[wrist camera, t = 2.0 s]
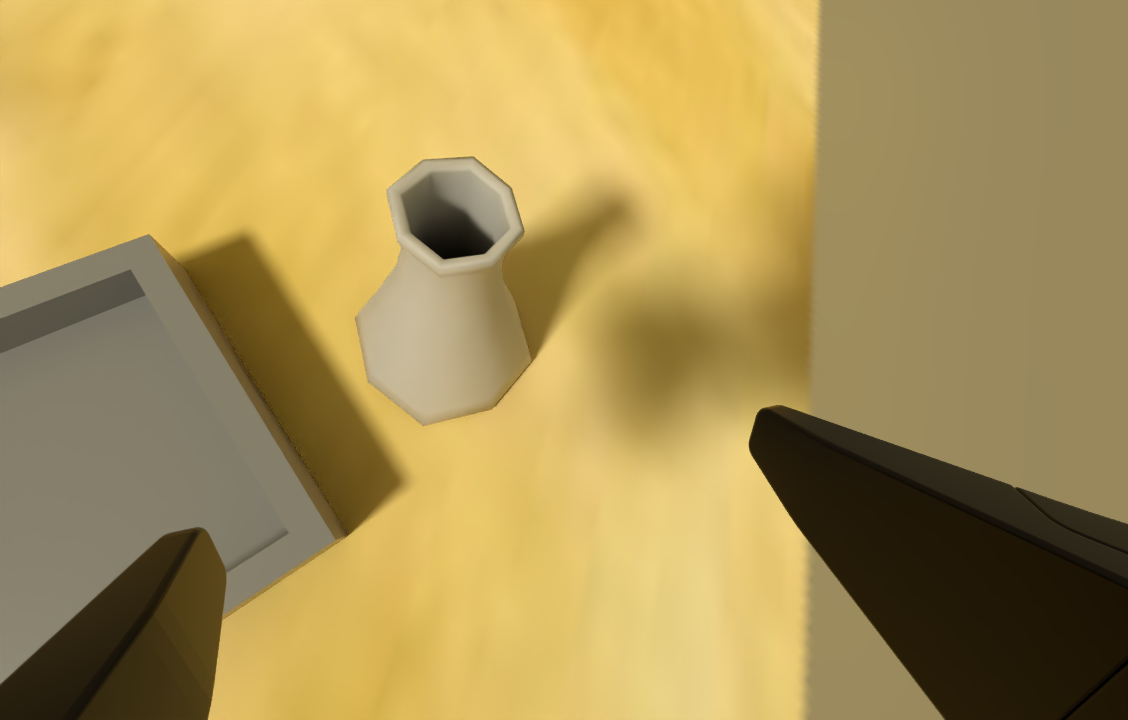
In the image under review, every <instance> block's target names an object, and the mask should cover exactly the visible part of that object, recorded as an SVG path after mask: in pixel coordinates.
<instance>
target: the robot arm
mask: <svg viewBox="0 0 1128 720" xmlns="http://www.w3.org/2000/svg"><path fill="white" fill-rule="evenodd" d="M749 450H750V453H751V455H752V457H753V458H754V460H755V461H756V463H757V465H758V466H759V468H760V469H761V471H762V473H763V474H764V476H765V477H766V479H767V480H768V482H769V484H770V485H771V487H772V488H773V490H774V492H775V493H776V495H777V496H778V498H779V499H780V501H781V503H782V504H783V506H784V507H785V509H786V511H787V512H788V514H789V515H790V517H791V518H792V520H793V521H794V523H795V524H796V525H797V527H798V528H799V529H800V531H801V532H802V534H803V535H804V536H805V538H806V539H807V540H808V541H809V543H810V544H811V545H812V547H813V548H814V549H815V551H816V552H817V553H818V554H819V556H820V557H821V558H822V560H823V561H824V562H825V564H826V565H827V566H828V568H829V569H830V570H831V572H832V573H833V574H834V575H835V577H836V578H837V579H838V581H839V582H840V583H841V585H842V586H843V587H844V589H845V590H846V591H847V592H848V594H849V595H850V596H851V597H852V599H853V600H854V602H855V603H856V604H857V606H858V607H859V608H860V609H861V611H862V612H863V613H864V615H865V616H866V617H867V619H868V620H869V621H870V623H871V624H872V625H873V626H874V628H875V629H876V630H877V632H878V633H879V634H880V636H881V637H882V638H883V640H884V641H885V642H886V644H887V645H888V646H889V647H890V649H891V650H892V651H893V652H894V654H895V655H896V657H897V658H898V659H899V660H900V662H901V663H902V664H903V666H904V667H905V668H906V670H907V671H908V672H909V674H910V675H911V676H912V678H913V679H914V680H915V681H916V683H917V684H918V685H919V686H920V688H921V689H922V691H923V692H924V693H925V694H926V696H927V697H928V698H929V700H930V701H931V702H932V704H933V705H934V706H935V708H936V709H937V710H938V712H939V713H940V714H941V715H942V717H943V718H944V719H945V720H1128V524H1126V523H1123V522H1120V521H1116V520H1114V519H1110V518H1107V517H1104V516H1101V515H1098V514H1095V513H1091V512H1088V511H1085V510H1082V509H1080V508H1077V507H1074V506H1071V505H1068V504H1065V503H1062V502H1059V501H1055V500H1053V499H1050V498H1047V497H1044V496H1041V495H1038V494H1035V493H1033V492H1030V491H1027V490H1024V489H1021V488H1018V487H1016V488H1014V487H1013V486H1011V485H1009V484H1006V483H1004V482H1001V481H998V480H995V479H992V478H989V477H986V476H983V475H980V474H977V473H975V472H972V471H969V470H966V469H963V468H960V467H958V466H955V465H952V464H949V463H946V462H943V461H940V460H937V459H934V458H931V457H929V456H926V455H923V454H920V453H917V452H914V451H912V450H909V449H906V448H903V447H900V446H897V445H894V444H891V443H888V442H886V441H883V440H880V439H877V438H874V437H871V436H869V435H866V434H863V433H859V432H857V431H854V430H851V429H848V428H846V427H842V426H840V425H837V424H834V423H831V422H828V421H825V420H822V419H820V418H817V417H814V416H811V415H808V414H805V413H802V412H800V411H797V410H794V409H791V408H788V407H785V406H782V405H775V406H771V407H766V408H762V409H760V410H759V412H758V413H757V415H756V418H755V422H754V425H753V429H752V432H751V436H750V439H749ZM226 584H227V575H226V569H225V566H224V563H223V561H222V559H221V557H220V555H219V553H218V551H217V549H216V547H215V545H214V543H213V541H212V539H211V537H210V535H209V533H208V532H207V531H206V530H205V529H204V528H202V527H194V528H190V529H185V530H180V531H175V532H171V533H168V534H165V535H163V536H162V537H161V538H159V539H158V540H157V541H156V542H155V543H154V544H153V545H151V546H150V547H149V548H148V549H147V550H146V551H145V552H144V553H143V554H142V555H141V556H139V557H138V558H137V559H136V560H135V561H134V562H133V563H132V564H131V565H130V566H129V567H127V568H126V569H125V570H124V571H123V572H122V573H121V574H120V575H119V576H118V577H116V578H115V579H114V580H113V581H112V582H111V583H110V584H109V585H108V586H107V587H106V588H104V589H103V590H102V591H101V592H100V593H99V594H98V595H97V596H96V597H95V598H94V599H92V600H91V601H90V602H89V603H88V604H87V605H86V606H85V607H84V608H83V609H82V610H80V611H79V612H78V613H77V614H76V615H75V616H74V617H73V618H72V619H71V620H70V621H68V622H67V623H66V624H65V625H64V626H63V627H62V628H61V629H60V630H59V631H58V632H56V633H55V634H54V635H53V636H52V637H51V638H50V639H49V640H48V641H47V642H46V643H44V644H43V645H42V646H41V647H40V648H39V649H38V650H37V651H36V652H35V653H34V654H32V655H31V656H30V657H29V658H28V659H27V660H26V661H25V662H24V663H23V664H22V665H20V666H19V667H18V668H17V669H16V670H15V671H14V672H13V673H12V674H11V675H10V676H8V677H7V678H6V679H5V680H4V681H3V682H2V683H1V684H0V720H208V716H209V711H210V706H211V702H212V695H213V688H214V681H215V673H216V665H217V657H218V649H219V641H220V633H221V625H222V617H223V609H224V601H225V593H226Z"/></svg>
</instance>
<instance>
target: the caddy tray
mask: <svg viewBox="0 0 1128 720" xmlns="http://www.w3.org/2000/svg"><path fill="white" fill-rule="evenodd" d="M194 527H202V528H204V529H205V530H206V531H207V532H208V533H209V535H210V537H211V539H212V541H213V543H214V545H215V547H216V549H217V551H218V553H219V555H220V557H221V559H222V561H223V563H224V566H225V569H226V575H227V584H226V593H225V601H224V609H223V617H222V620H223V619H225V618H226V617H228V616H229V615H231V614H232V613H234V612H235V611H237V610H238V609H240V608H241V607H243V606H244V605H246V604H247V603H249V602H250V601H252V600H253V599H255V598H256V597H258V596H259V595H260V594H262V593H263V592H265V591H266V590H268V589H269V588H271V587H272V586H274V585H275V584H277V583H278V582H280V581H281V580H283V579H284V578H286V577H287V576H289V575H290V574H292V573H293V572H295V571H296V570H298V569H299V568H301V567H302V566H304V565H305V564H307V563H308V562H310V561H311V560H313V559H314V558H316V557H317V556H319V555H320V554H322V553H323V552H325V551H326V550H328V549H329V548H331V547H332V546H334V545H335V544H337V543H338V542H340V541H341V540H343V539H344V538H346V537H347V536H348V534H347V533H346V531H345V529H344V528H343V526H342V525H341V523H340V521H339V520H338V518H337V516H336V515H335V513H334V511H333V510H332V508H331V507H330V505H329V503H328V502H327V500H326V498H325V497H324V495H323V494H322V492H321V490H320V489H319V487H318V485H317V484H316V482H315V480H314V479H313V477H312V476H311V474H310V472H309V471H308V469H307V467H306V466H305V464H304V463H303V461H302V459H301V458H300V456H299V454H298V453H297V451H296V450H295V448H294V446H293V445H292V443H291V441H290V440H289V438H288V436H287V435H286V433H285V432H284V430H283V428H282V427H281V425H280V423H279V422H278V420H277V419H276V417H275V415H274V414H273V412H272V410H271V409H270V407H269V405H268V404H267V402H266V401H265V399H264V397H263V396H262V394H261V392H260V391H259V389H258V388H257V386H256V384H255V383H254V381H253V379H252V378H251V376H250V375H249V373H248V371H247V370H246V368H245V366H244V365H243V363H242V361H241V360H240V358H239V357H238V355H237V353H236V352H235V350H234V348H233V347H232V345H231V344H230V342H229V340H228V339H227V337H226V335H225V334H224V332H223V330H222V329H221V327H220V326H219V324H218V322H217V321H216V319H215V317H214V316H213V314H212V313H211V311H210V309H209V308H208V306H207V304H206V303H205V301H204V300H203V298H202V296H201V295H200V293H199V291H198V290H197V288H196V286H195V285H194V283H193V282H192V280H191V278H190V277H189V275H188V273H187V272H186V270H185V269H184V267H183V266H182V265H181V264H180V263H179V262H178V261H177V260H175V259H174V258H173V257H172V256H171V255H170V254H169V253H168V252H167V251H166V250H165V249H164V248H163V247H162V246H161V245H160V244H159V243H158V242H157V241H156V240H155V239H154V238H153V237H151V236H150V235H149V234H148V235H145V236H142V237H140V238H137V239H134V240H131V241H129V242H126V243H123V244H120V245H117V246H115V247H112V248H109V249H106V250H103V251H101V252H98V253H95V254H92V255H89V256H87V257H84V258H81V259H78V260H76V261H73V262H70V263H67V264H64V265H62V266H59V267H56V268H53V269H50V270H48V271H45V272H42V273H39V274H37V275H34V276H31V277H28V278H25V279H23V280H20V281H17V282H14V283H11V284H9V285H6V286H3V287H0V684H1V683H2V682H3V681H4V680H5V679H6V678H7V677H8V676H10V675H11V674H12V673H13V672H14V671H15V670H16V669H17V668H18V667H19V666H20V665H22V664H23V663H24V662H25V661H26V660H27V659H28V658H29V657H30V656H31V655H32V654H34V653H35V652H36V651H37V650H38V649H39V648H40V647H41V646H42V645H43V644H44V643H46V642H47V641H48V640H49V639H50V638H51V637H52V636H53V635H54V634H55V633H56V632H58V631H59V630H60V629H61V628H62V627H63V626H64V625H65V624H66V623H67V622H68V621H70V620H71V619H72V618H73V617H74V616H75V615H76V614H77V613H78V612H79V611H80V610H82V609H83V608H84V607H85V606H86V605H87V604H88V603H89V602H90V601H91V600H92V599H94V598H95V597H96V596H97V595H98V594H99V593H100V592H101V591H102V590H103V589H104V588H106V587H107V586H108V585H109V584H110V583H111V582H112V581H113V580H114V579H115V578H116V577H118V576H119V575H120V574H121V573H122V572H123V571H124V570H125V569H126V568H127V567H129V566H130V565H131V564H132V563H133V562H134V561H135V560H136V559H137V558H138V557H139V556H141V555H142V554H143V553H144V552H145V551H146V550H147V549H148V548H149V547H150V546H151V545H153V544H154V543H155V542H156V541H157V540H158V539H159V538H161V537H162V536H163V535H165V534H168V533H171V532H175V531H180V530H185V529H190V528H194Z"/></svg>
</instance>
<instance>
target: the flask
mask: <svg viewBox="0 0 1128 720" xmlns="http://www.w3.org/2000/svg"><path fill="white" fill-rule="evenodd" d="M387 198H388V202H389V207H390V211H391V216H392V220H393V224H394V229H395V233H396V237H397V241H398V243H399V245H400V246H401V250H400V253H399V257H398V261H397V264H396V266H395V268H394V269H393V270H392V272H391V273H390V274H389V276H388V277H387V278H386V280H385V281H384V283H383V284H382V285H381V287H380V288H379V289H378V291H377V292H376V293H375V294H374V295H373V297H372V298H371V299H370V300H369V301H368V302H367V303H366V304H365V305H364V307H363V308H362V309H361V310H360V311H359V312H358V314H357V315H356V316H355V320H356V325H357V330H358V335H359V340H360V345H361V350H362V355H363V360H364V365H365V370H366V375H367V380H368V382H369V383H370V384H371V385H372V386H374V387H375V388H376V389H378V390H379V391H380V392H381V393H383V394H384V395H385V396H386V397H388V398H389V399H390V400H391V401H393V402H394V403H395V404H396V405H398V406H399V407H400V408H401V409H403V410H404V411H405V412H406V413H408V414H409V415H410V416H411V417H413V418H414V419H415V420H416V421H418V422H419V423H420V424H421V425H423V426H425V425H429V424H433V423H437V422H441V421H446V420H450V419H454V418H458V417H462V416H466V415H471V414H475V413H479V412H483V411H487V410H491V409H492V408H493V407H494V406H495V405H496V404H497V402H498V401H499V400H500V399H501V398H502V396H503V395H504V394H505V393H506V392H507V390H508V389H509V388H510V387H511V385H512V384H513V383H514V382H515V381H516V379H517V378H518V377H519V376H520V375H521V373H522V372H523V371H524V370H525V369H526V367H527V366H528V365H529V364H530V363H531V361H532V359H531V356H530V352H529V349H528V345H527V342H526V338H525V335H524V331H523V327H522V324H521V320H520V317H519V313H518V310H517V306H516V303H515V300H514V298H513V296H512V294H511V293H510V291H509V289H508V287H507V286H506V284H505V282H504V280H503V270H502V265H503V261H504V257H505V254H506V253H507V252H508V251H509V250H510V249H511V248H512V247H513V246H514V245H515V244H516V243H517V242H518V241H519V240H520V239H521V238H522V237H523V235H524V228H523V224H522V221H521V218H520V214H519V211H518V207H517V204H516V201H515V197H514V194H513V191H512V188H511V187H510V186H509V185H508V184H506V183H505V182H504V181H503V180H502V179H500V178H499V177H498V176H497V175H495V174H494V173H493V172H492V171H491V170H489V169H488V168H487V167H486V166H484V165H483V164H482V163H481V162H479V161H478V160H477V159H476V158H475V157H457V158H442V159H426V160H422V161H421V162H420V163H418V164H417V165H416V166H415V167H413V168H412V169H411V170H410V171H409V172H407V173H406V174H405V175H404V176H402V177H401V178H400V179H399V180H397V181H396V182H395V183H394V184H393V185H391V186H390V187H389V188H388V189H387Z"/></svg>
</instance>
